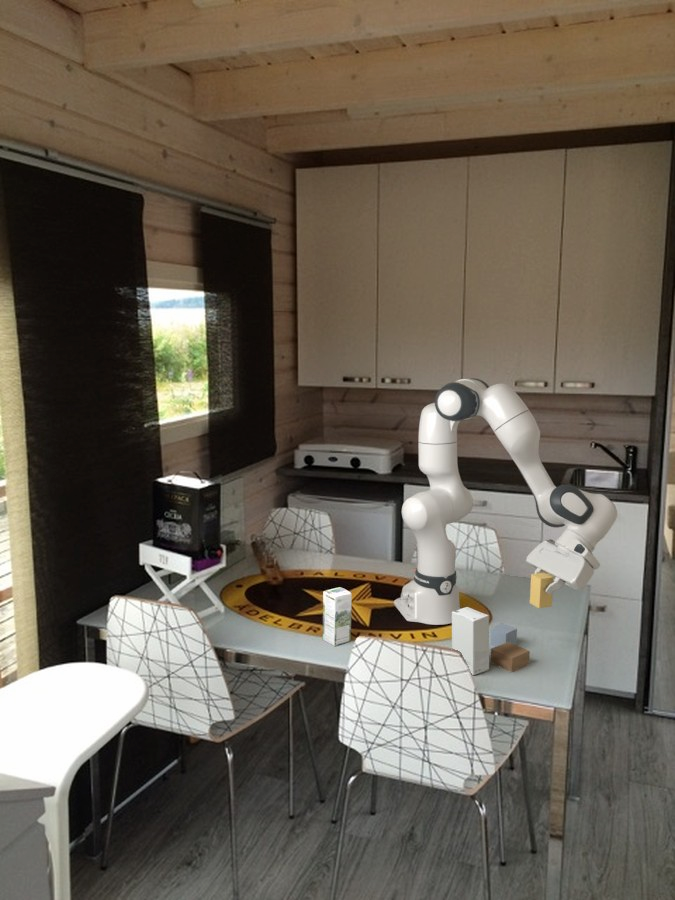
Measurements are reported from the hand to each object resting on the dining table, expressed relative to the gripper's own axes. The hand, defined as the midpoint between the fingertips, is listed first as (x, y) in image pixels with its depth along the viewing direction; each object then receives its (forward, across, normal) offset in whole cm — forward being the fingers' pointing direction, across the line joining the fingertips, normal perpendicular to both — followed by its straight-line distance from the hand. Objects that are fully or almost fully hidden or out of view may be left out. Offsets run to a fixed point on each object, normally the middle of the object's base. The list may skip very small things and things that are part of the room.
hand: (539, 589), depth 209 cm
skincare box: (+27, -2, 0) cm, 27 cm away
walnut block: (+20, 0, +8) cm, 21 cm away
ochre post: (+3, 0, +4) cm, 4 cm away
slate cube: (+16, -10, +11) cm, 22 cm away
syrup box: (+45, -30, -18) cm, 57 cm away
